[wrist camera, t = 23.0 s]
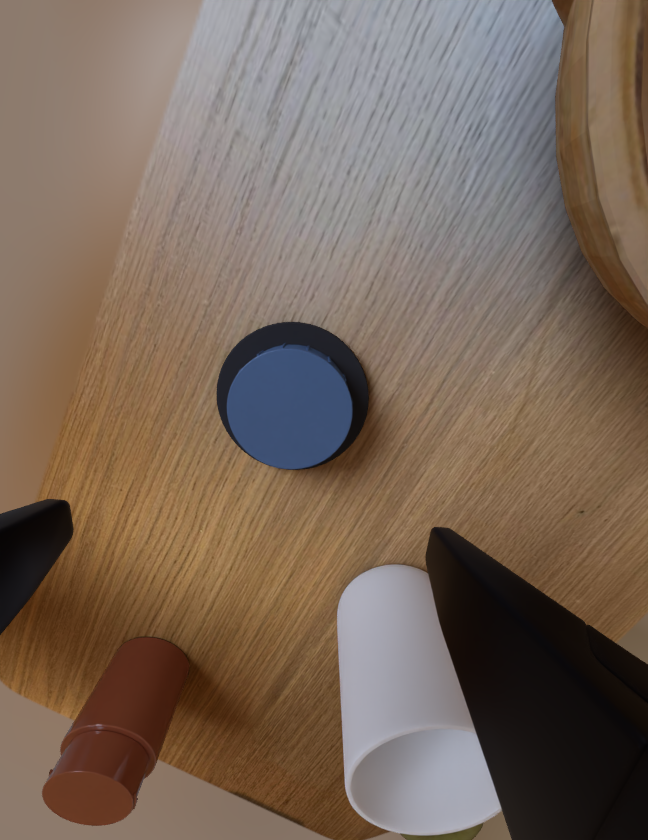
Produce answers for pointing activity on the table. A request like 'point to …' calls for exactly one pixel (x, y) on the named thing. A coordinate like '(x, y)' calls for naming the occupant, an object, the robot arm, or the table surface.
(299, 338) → the coaster
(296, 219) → the table surface
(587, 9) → the ceramic bowl
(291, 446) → the jar lid
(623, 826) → the robot arm
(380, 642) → the mug
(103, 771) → the jar
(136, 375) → the table surface
